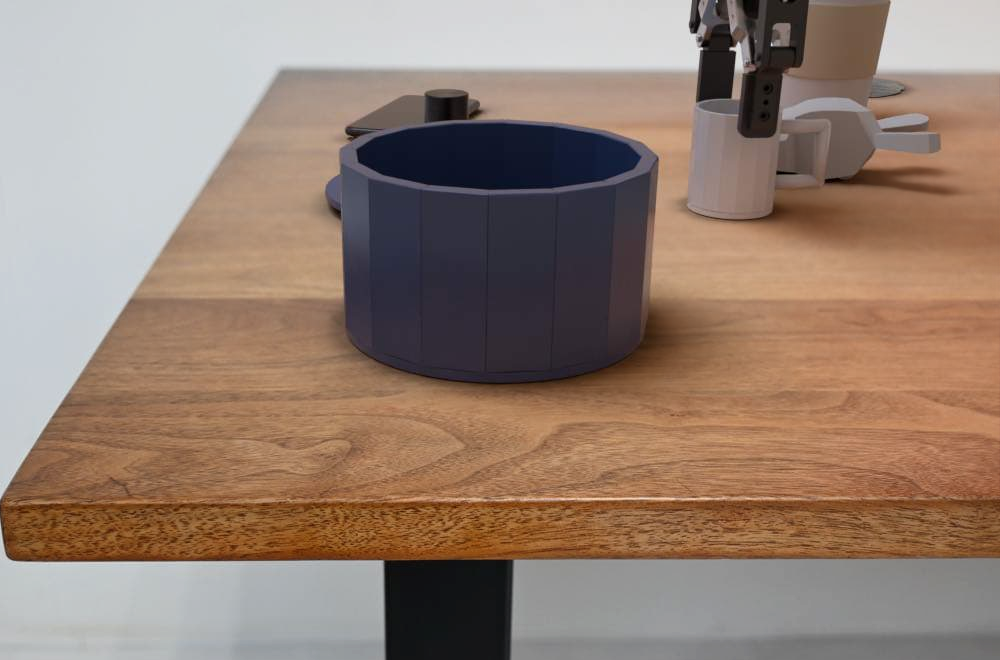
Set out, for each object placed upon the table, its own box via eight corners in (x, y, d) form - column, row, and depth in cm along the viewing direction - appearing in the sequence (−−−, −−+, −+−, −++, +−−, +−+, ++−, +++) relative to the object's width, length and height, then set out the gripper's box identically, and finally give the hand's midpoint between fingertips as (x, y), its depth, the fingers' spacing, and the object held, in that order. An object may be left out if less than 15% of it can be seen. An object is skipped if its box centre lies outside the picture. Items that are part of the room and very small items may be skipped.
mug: (700, 220, 78) (709, 116, 76) (677, 197, 83) (684, 99, 81) (837, 216, 79) (850, 114, 77) (805, 194, 84) (817, 97, 82)
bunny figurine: (712, 99, 93) (925, 83, 90) (714, 166, 95) (923, 153, 92) (710, 126, 85) (946, 109, 81) (713, 199, 87) (943, 186, 83)
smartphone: (402, 103, 111) (340, 137, 98) (402, 93, 111) (340, 127, 98) (483, 108, 109) (431, 144, 96) (483, 98, 109) (431, 133, 96)
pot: (607, 270, 69) (615, 117, 66) (680, 376, 56) (696, 189, 52) (340, 279, 67) (335, 122, 64) (350, 390, 54) (345, 198, 51)
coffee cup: (897, 130, 102) (925, -63, 97) (795, 135, 101) (817, -62, 95) (843, 108, 110) (866, -71, 105) (748, 112, 109) (765, -71, 103)
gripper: (875, -155, 66) (834, 147, 73) (781, -158, 79) (753, 99, 86) (738, -158, 66) (709, 149, 72) (665, -160, 79) (646, 99, 85)
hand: (733, 121), depth 79 cm, fingers open, 8 cm apart
